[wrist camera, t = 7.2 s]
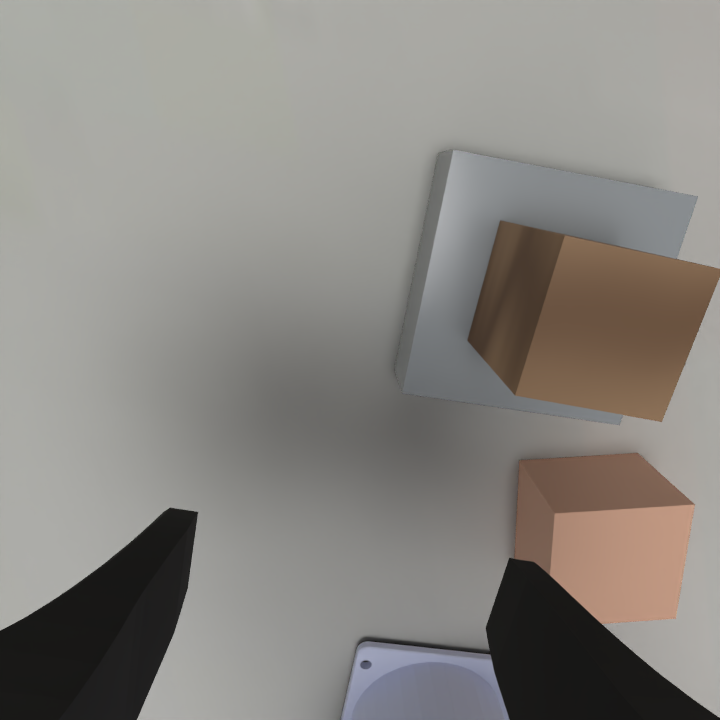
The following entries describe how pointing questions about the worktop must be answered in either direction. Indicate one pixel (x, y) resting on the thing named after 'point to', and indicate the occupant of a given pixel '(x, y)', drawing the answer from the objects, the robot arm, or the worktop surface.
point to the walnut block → (588, 320)
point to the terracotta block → (606, 533)
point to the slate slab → (473, 250)
